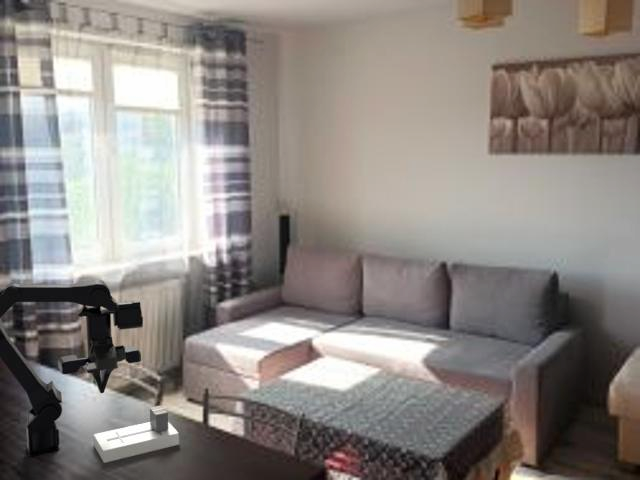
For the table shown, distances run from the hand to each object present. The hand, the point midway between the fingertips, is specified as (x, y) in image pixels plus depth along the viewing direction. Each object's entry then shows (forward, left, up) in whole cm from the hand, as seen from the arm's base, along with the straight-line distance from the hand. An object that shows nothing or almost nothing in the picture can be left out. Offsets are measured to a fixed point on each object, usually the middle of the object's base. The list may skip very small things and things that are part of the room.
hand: (101, 392), depth 159 cm
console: (+6, -8, -12) cm, 16 cm away
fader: (+12, -8, -9) cm, 17 cm away
